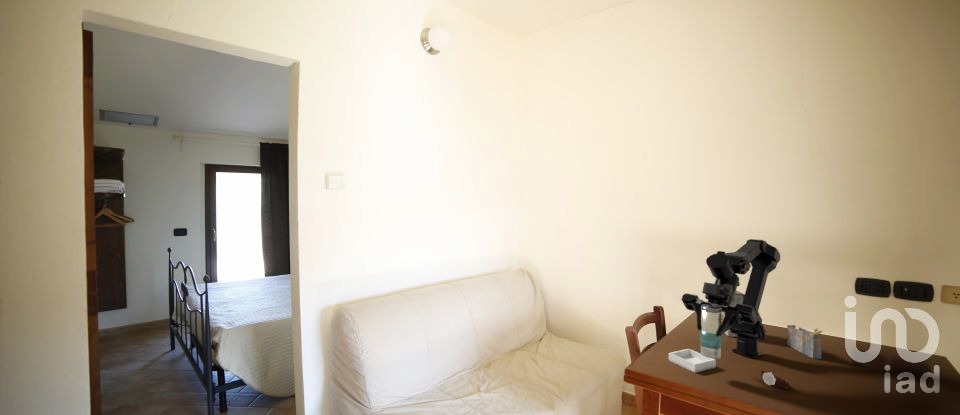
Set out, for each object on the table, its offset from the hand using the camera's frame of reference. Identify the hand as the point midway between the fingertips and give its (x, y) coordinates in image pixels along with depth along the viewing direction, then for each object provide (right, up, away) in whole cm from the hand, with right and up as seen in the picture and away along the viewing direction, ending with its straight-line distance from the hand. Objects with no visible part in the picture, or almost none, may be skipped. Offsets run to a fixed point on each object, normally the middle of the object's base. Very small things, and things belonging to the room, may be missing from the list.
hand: (708, 332), depth 107 cm
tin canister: (+1, -7, +1) cm, 7 cm away
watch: (+17, -14, -3) cm, 22 cm away
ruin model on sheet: (+45, -14, +20) cm, 51 cm away
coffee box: (+32, -13, +37) cm, 51 cm away
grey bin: (0, -13, +9) cm, 16 cm away
